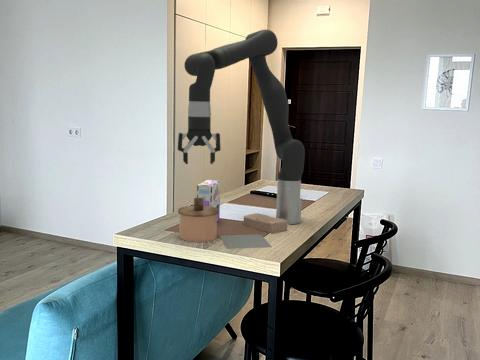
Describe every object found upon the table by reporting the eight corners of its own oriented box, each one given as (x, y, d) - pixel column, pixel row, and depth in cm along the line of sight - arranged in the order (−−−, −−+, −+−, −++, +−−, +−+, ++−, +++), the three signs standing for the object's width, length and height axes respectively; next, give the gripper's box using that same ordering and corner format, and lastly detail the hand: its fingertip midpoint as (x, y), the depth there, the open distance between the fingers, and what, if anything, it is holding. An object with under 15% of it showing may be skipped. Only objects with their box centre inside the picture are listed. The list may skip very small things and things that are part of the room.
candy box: (211, 228, 173) (211, 185, 171) (195, 227, 174) (196, 184, 172) (220, 220, 187) (220, 179, 184) (205, 219, 188) (206, 179, 185)
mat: (260, 235, 166) (261, 234, 166) (271, 248, 151) (271, 246, 151) (219, 236, 163) (219, 235, 163) (226, 249, 148) (226, 248, 148)
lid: (215, 207, 168) (215, 194, 167) (221, 216, 155) (222, 202, 154) (176, 208, 165) (176, 194, 165) (179, 217, 152) (179, 202, 151)
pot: (213, 232, 169) (213, 207, 167) (218, 241, 156) (219, 215, 155) (178, 233, 166) (178, 208, 165) (181, 243, 154) (181, 216, 153)
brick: (241, 226, 179) (242, 214, 179) (257, 223, 185) (257, 211, 184) (272, 235, 167) (272, 223, 166) (288, 232, 173) (288, 220, 172)
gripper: (218, 115, 160) (218, 162, 162) (177, 114, 157) (177, 162, 160) (222, 116, 153) (221, 165, 155) (178, 115, 150) (178, 165, 152)
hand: (198, 163), depth 157 cm, fingers open, 8 cm apart
